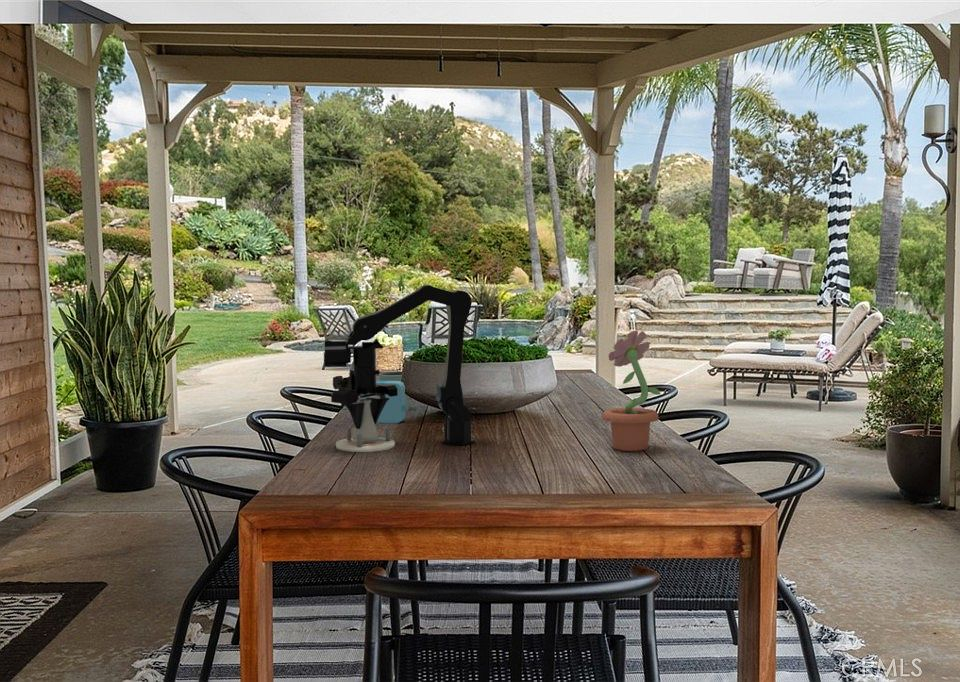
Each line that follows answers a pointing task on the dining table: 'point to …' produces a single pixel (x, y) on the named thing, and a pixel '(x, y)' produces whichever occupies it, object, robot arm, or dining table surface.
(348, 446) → the pin cradle
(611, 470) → the dining table surface
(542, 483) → the dining table surface
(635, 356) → the decorative flower
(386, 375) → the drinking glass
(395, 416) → the blue rounded slab
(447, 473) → the dining table surface
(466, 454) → the dining table surface
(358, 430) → the flask
